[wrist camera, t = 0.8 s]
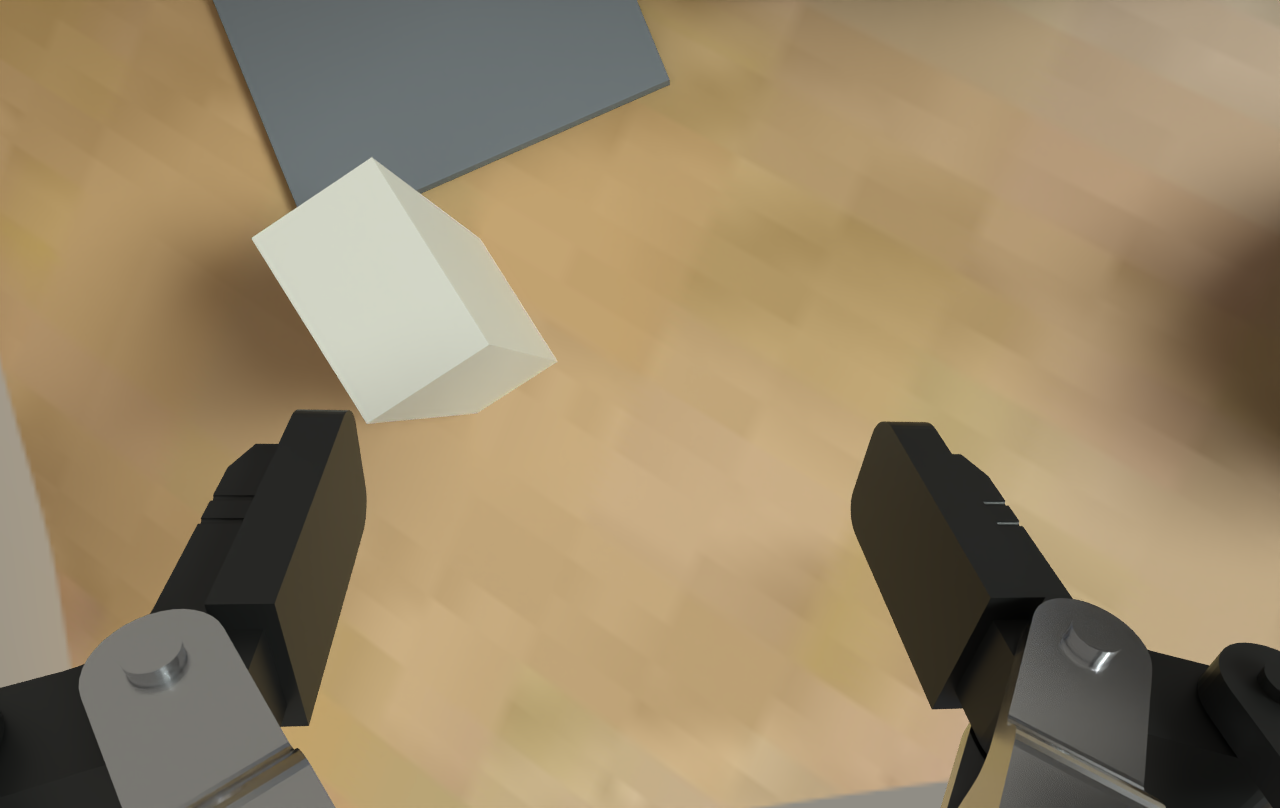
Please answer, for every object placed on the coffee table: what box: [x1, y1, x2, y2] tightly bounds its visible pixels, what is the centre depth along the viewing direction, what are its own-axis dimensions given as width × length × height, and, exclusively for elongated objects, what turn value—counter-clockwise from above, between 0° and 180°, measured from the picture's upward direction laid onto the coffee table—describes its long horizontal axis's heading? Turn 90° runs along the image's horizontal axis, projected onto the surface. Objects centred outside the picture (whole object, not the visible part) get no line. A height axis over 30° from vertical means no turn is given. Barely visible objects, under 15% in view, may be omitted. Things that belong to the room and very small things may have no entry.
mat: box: [213, 0, 670, 207], centre depth 31 cm, size 16×13×1 cm
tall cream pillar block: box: [251, 157, 558, 424], centre depth 26 cm, size 4×6×11 cm, turn 32°
